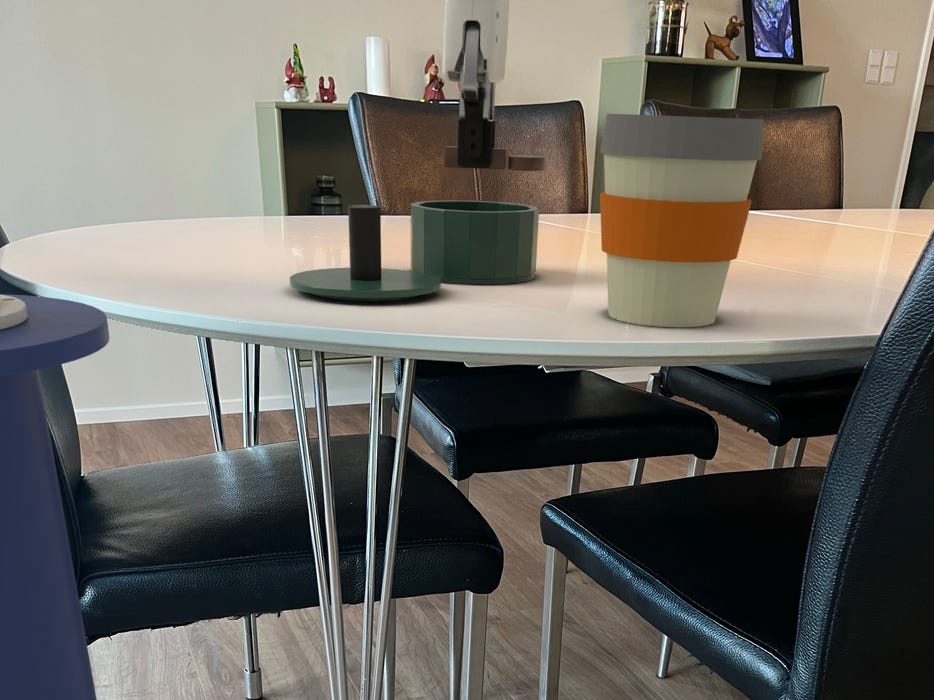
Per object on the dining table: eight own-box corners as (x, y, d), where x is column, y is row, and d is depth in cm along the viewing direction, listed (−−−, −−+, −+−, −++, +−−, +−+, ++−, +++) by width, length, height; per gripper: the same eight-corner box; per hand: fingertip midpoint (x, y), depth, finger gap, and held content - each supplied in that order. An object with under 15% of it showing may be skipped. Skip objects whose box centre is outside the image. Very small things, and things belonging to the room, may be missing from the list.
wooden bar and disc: (442, 167, 96) (442, 146, 95) (448, 165, 99) (448, 145, 98) (543, 171, 95) (544, 150, 94) (546, 169, 98) (547, 149, 97)
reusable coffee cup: (598, 329, 78) (617, 113, 71) (577, 302, 89) (592, 113, 82) (755, 333, 79) (789, 120, 72) (715, 305, 90) (741, 118, 83)
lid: (414, 310, 83) (414, 217, 80) (264, 298, 86) (258, 207, 82) (458, 286, 95) (459, 204, 91) (324, 276, 97) (321, 196, 94)
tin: (519, 288, 95) (523, 214, 92) (394, 279, 98) (394, 207, 95) (545, 271, 106) (549, 204, 103) (432, 263, 108) (432, 198, 105)
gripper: (453, -51, 96) (450, 161, 104) (424, -78, 82) (423, 169, 91) (531, -49, 95) (521, 164, 103) (514, -77, 81) (505, 172, 90)
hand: (475, 165), depth 97 cm, fingers closed on wooden bar and disc, 1 cm apart
